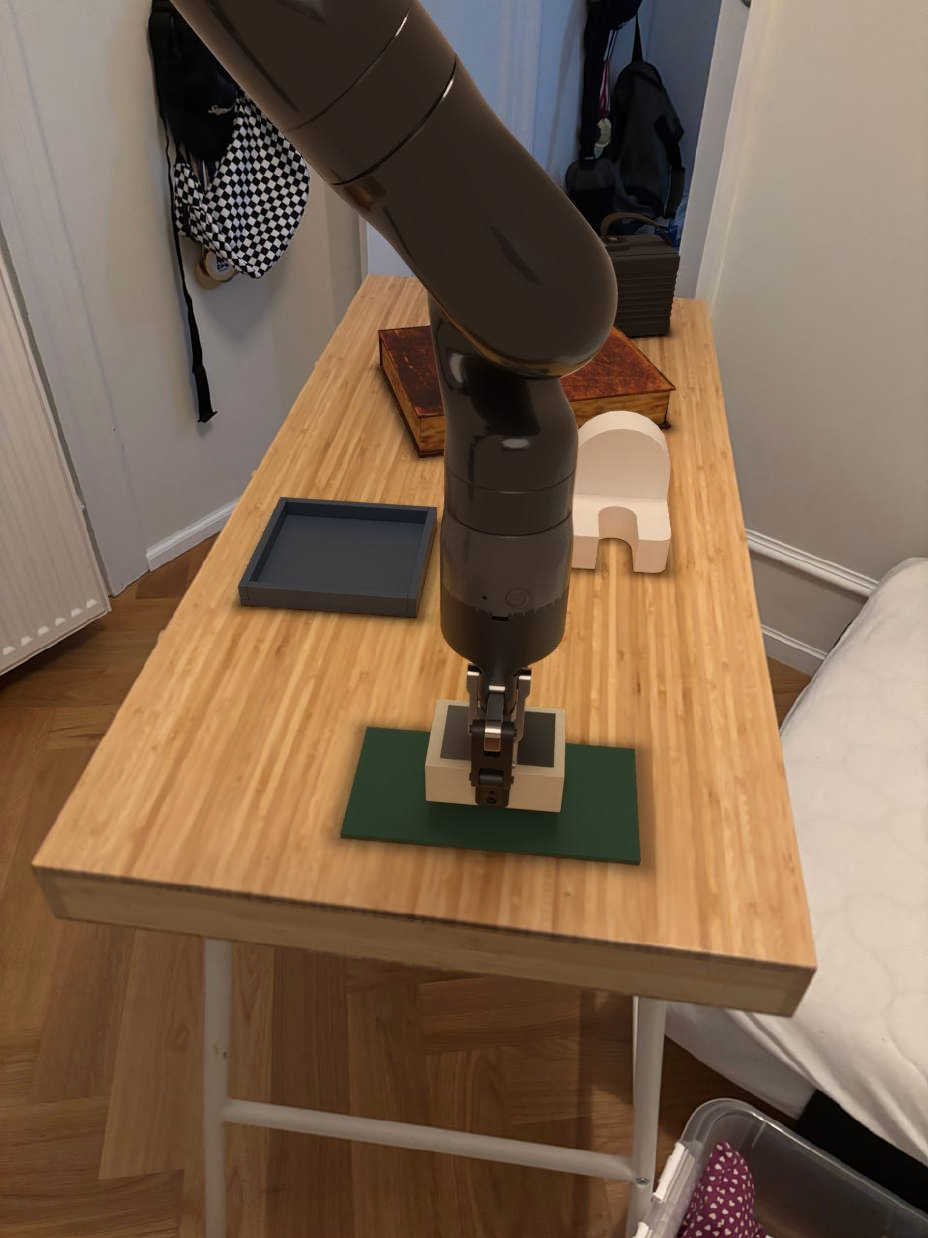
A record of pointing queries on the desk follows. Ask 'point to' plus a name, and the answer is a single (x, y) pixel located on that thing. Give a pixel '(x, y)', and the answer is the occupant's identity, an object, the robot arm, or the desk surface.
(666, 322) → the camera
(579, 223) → the robot arm
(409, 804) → the mat
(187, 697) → the desk surface
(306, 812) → the desk surface
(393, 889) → the desk surface
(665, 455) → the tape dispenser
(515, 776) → the beige rectangular block
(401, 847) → the desk surface
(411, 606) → the tray
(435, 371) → the book
